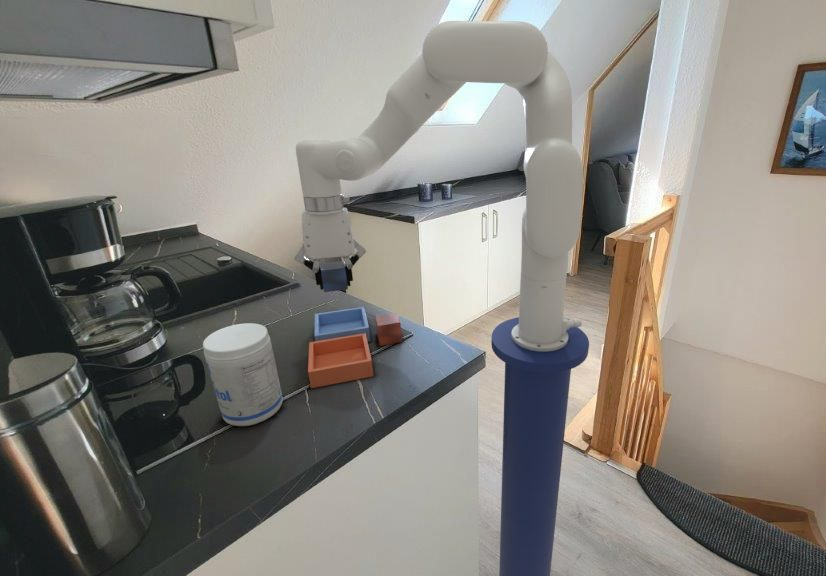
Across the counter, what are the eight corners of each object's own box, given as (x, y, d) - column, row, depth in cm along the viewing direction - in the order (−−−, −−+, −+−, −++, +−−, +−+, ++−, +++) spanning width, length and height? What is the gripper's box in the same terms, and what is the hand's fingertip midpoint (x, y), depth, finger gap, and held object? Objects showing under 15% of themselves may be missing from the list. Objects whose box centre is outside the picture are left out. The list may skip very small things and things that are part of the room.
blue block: (346, 281, 93) (343, 260, 91) (347, 289, 89) (345, 267, 87) (323, 284, 92) (320, 263, 90) (324, 292, 87) (320, 270, 85)
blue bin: (365, 319, 102) (363, 306, 100) (370, 341, 92) (369, 327, 90) (317, 327, 98) (314, 313, 97) (316, 350, 88) (314, 336, 87)
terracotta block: (398, 331, 96) (396, 312, 94) (402, 342, 91) (400, 322, 89) (377, 335, 94) (374, 316, 92) (379, 345, 90) (377, 325, 88)
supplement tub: (211, 418, 68) (186, 342, 63) (259, 387, 76) (241, 317, 71) (249, 436, 64) (226, 357, 59) (296, 401, 72) (280, 328, 66)
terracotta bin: (367, 347, 89) (365, 333, 88) (373, 376, 79) (371, 360, 78) (311, 357, 86) (309, 342, 85) (310, 388, 76) (307, 372, 74)
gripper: (364, 198, 89) (372, 275, 96) (280, 203, 84) (295, 284, 91) (368, 204, 82) (376, 286, 89) (277, 210, 77) (293, 297, 84)
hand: (335, 284), depth 90 cm, fingers closed on blue block, 5 cm apart
